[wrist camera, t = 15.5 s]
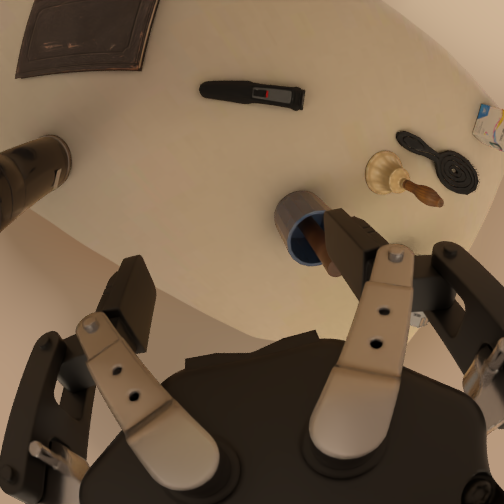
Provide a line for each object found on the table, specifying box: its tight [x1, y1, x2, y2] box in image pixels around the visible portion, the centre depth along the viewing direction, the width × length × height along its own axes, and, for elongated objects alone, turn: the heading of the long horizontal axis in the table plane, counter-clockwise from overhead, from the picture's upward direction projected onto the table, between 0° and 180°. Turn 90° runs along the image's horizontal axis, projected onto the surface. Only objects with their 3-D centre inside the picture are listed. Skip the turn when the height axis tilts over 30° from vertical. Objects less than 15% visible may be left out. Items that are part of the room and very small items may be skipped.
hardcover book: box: [15, 0, 160, 79], centre depth 26 cm, size 16×23×2 cm
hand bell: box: [365, 151, 444, 207], centre depth 39 cm, size 8×8×16 cm
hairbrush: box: [396, 131, 479, 195], centre depth 45 cm, size 8×4×25 cm
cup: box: [274, 191, 331, 266], centre depth 45 cm, size 9×9×9 cm
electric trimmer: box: [199, 81, 305, 111], centre depth 36 cm, size 4×16×3 cm, turn 83°
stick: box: [297, 216, 341, 277], centre depth 41 cm, size 3×3×16 cm
